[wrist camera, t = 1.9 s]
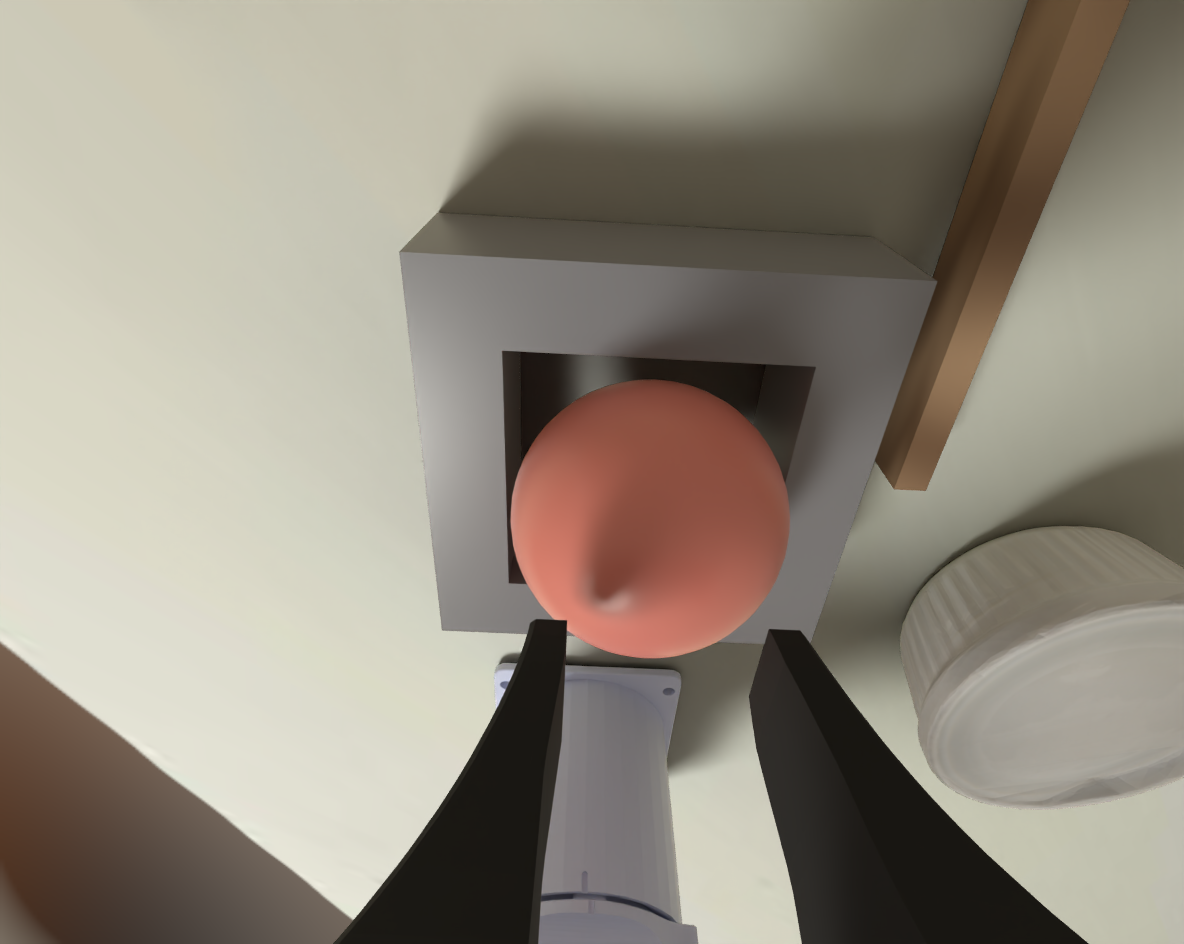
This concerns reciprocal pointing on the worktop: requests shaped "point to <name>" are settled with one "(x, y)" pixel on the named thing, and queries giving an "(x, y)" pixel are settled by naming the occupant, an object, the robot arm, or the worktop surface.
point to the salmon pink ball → (650, 518)
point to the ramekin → (1050, 669)
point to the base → (662, 331)
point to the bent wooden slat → (996, 220)
